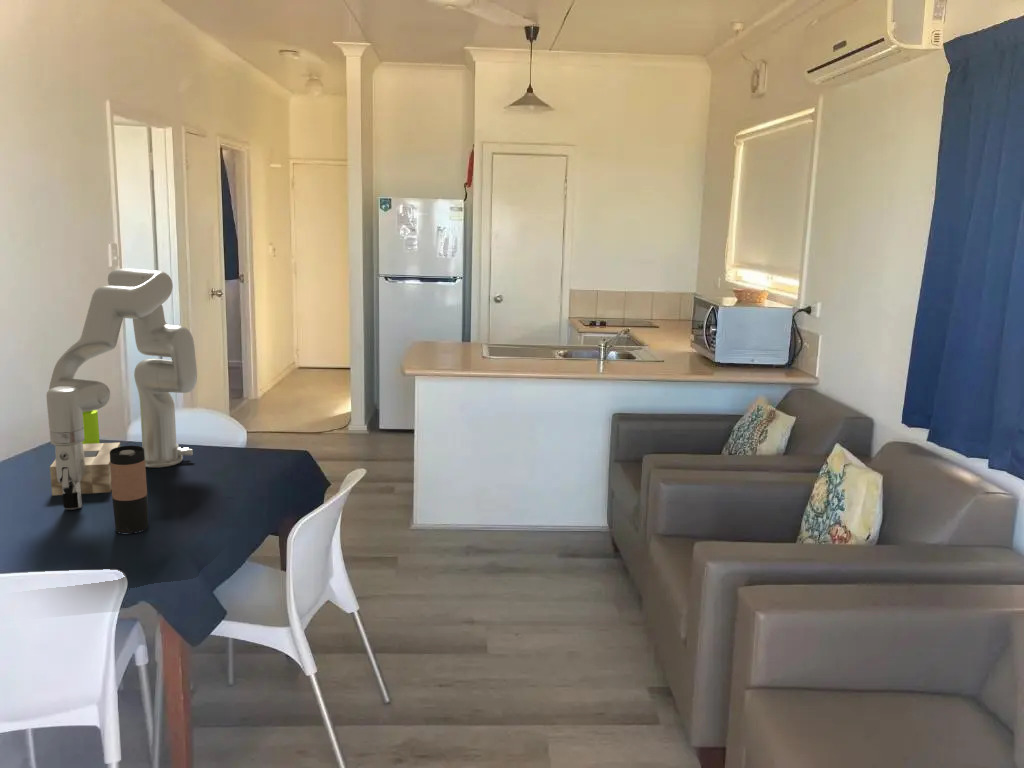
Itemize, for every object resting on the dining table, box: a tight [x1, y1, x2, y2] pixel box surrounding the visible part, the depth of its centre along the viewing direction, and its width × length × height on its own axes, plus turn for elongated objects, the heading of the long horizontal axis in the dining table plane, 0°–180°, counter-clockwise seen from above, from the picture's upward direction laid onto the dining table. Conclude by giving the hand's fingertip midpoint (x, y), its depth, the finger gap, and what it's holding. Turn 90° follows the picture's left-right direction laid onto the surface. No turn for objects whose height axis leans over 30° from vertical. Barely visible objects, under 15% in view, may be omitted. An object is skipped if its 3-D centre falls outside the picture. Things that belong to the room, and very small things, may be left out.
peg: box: [64, 479, 83, 511], centre depth 207 cm, size 4×4×7 cm
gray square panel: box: [84, 451, 98, 457], centre depth 225 cm, size 5×5×1 cm
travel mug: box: [110, 445, 149, 534], centre depth 195 cm, size 8×8×20 cm
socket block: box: [49, 442, 121, 496], centre depth 226 cm, size 14×20×8 cm
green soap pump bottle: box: [82, 409, 101, 444], centre depth 249 cm, size 6×7×20 cm
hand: (73, 503), depth 207 cm, fingers closed on peg, 4 cm apart
